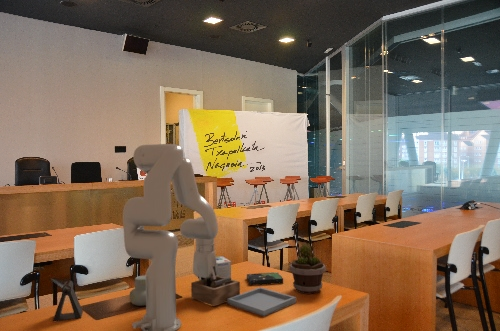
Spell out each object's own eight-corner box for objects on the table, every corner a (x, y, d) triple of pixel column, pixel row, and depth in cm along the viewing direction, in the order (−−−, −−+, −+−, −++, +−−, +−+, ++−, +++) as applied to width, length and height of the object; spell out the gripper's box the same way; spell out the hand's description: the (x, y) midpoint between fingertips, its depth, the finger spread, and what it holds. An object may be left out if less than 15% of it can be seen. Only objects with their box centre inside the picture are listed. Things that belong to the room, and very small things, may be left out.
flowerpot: (329, 295, 160) (329, 245, 160) (291, 296, 160) (290, 246, 160) (323, 284, 175) (322, 238, 175) (287, 285, 175) (287, 238, 175)
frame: (214, 306, 149) (213, 289, 149) (191, 297, 159) (191, 282, 159) (239, 297, 159) (239, 281, 159) (217, 289, 168) (217, 275, 168)
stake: (216, 304, 153) (216, 282, 153) (213, 303, 154) (213, 281, 154) (231, 298, 159) (231, 277, 159) (229, 297, 160) (228, 277, 160)
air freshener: (128, 301, 157) (127, 275, 157) (149, 297, 162) (148, 272, 162) (136, 310, 148) (136, 282, 148) (158, 305, 152) (158, 278, 152)
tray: (263, 316, 140) (263, 310, 140) (227, 304, 153) (227, 298, 153) (296, 302, 153) (296, 297, 153) (260, 292, 166) (260, 287, 166)
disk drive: (250, 287, 175) (283, 284, 177) (250, 280, 175) (283, 278, 177) (246, 280, 185) (278, 277, 188) (246, 273, 185) (277, 271, 188)
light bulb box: (209, 281, 182) (208, 257, 181) (223, 279, 184) (222, 255, 184) (217, 288, 172) (216, 263, 172) (232, 286, 175) (231, 261, 175)
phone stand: (83, 312, 146) (82, 279, 146) (81, 318, 141) (80, 284, 141) (55, 315, 144) (55, 281, 144) (52, 321, 138) (51, 286, 138)
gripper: (185, 246, 166) (186, 291, 166) (210, 252, 155) (211, 300, 155) (200, 243, 171) (200, 287, 171) (225, 249, 160) (225, 295, 160)
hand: (205, 293), depth 163 cm, fingers closed on frame, 1 cm apart
